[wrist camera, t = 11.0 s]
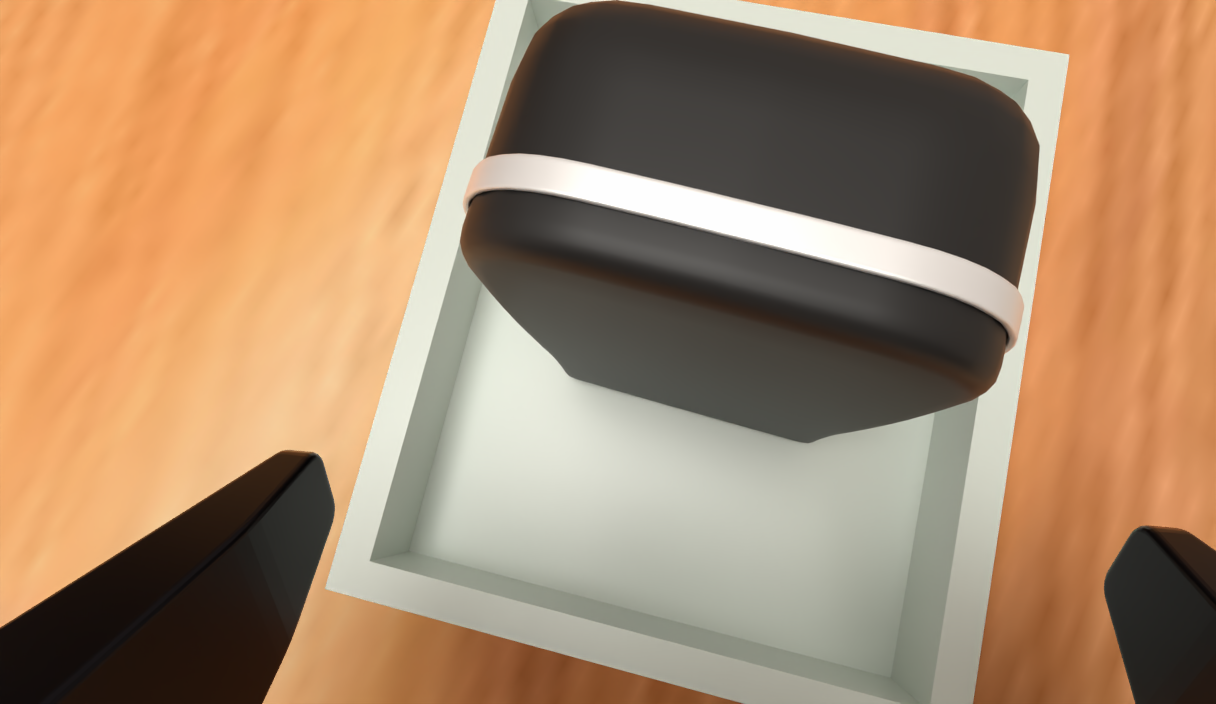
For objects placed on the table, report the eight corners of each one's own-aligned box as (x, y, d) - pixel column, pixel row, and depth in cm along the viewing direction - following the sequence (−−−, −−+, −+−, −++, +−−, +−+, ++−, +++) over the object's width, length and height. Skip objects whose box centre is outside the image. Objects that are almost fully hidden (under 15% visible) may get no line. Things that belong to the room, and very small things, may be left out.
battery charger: (856, 306, 19) (1149, 37, 7) (821, 450, 18) (1081, 395, 7) (596, 239, 19) (504, -94, 8) (554, 375, 19) (395, 216, 8)
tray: (905, 709, 18) (963, 764, 14) (384, 570, 19) (324, 588, 16) (1000, 127, 20) (1069, 54, 17) (531, 44, 22) (506, -38, 18)
